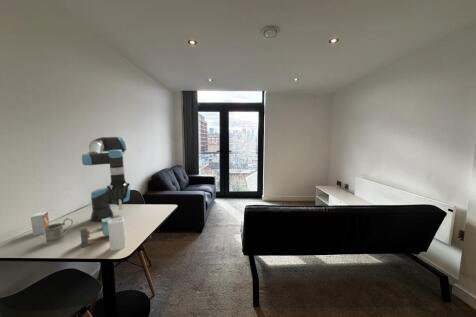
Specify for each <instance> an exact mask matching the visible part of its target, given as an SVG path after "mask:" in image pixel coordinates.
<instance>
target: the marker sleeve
mask: <svg viewBox="0 0 476 317" xmlns="http://www.w3.org/2000/svg"><path fill="white" fill-rule="evenodd" d="M111 219H112V218H111V217H108V218H104V219H101V220H102V221H101V228H103V231H102V236H103V235H104V237H105V236H108V235H109V231H108V221H109V220H111Z"/></svg>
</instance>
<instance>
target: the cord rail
mask: <svg viewBox="0 0 476 317" xmlns="http://www.w3.org/2000/svg"><path fill="white" fill-rule="evenodd" d="M79 230H80V231H79V232H80V239H81V240H80V241H81V248H87V247H90V246H93V245H96V244H100V243H104V242H106V241H109V235H108V236H105V237H104V235H103V234H102V235H100V236H97V237H93V238H91V236H90V235H93V234H97V233H100V232H101V233H102V232H103V228H102V227H100V228H95V229H92V230H90V228H89V227H88V228H87V226H82V227H80V228H79Z"/></svg>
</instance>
